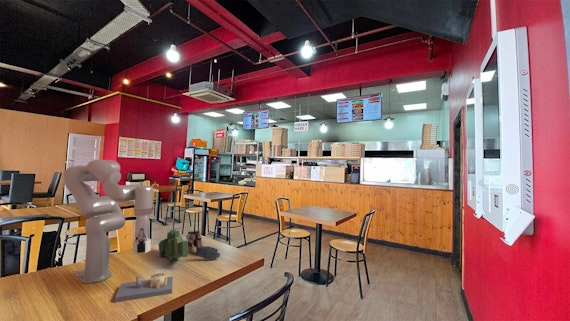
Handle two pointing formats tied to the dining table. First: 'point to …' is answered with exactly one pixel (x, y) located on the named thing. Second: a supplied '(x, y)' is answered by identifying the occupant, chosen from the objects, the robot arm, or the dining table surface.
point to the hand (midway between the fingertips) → (141, 249)
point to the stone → (208, 253)
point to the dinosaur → (173, 246)
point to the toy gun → (194, 239)
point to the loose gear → (147, 246)
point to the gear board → (145, 288)
